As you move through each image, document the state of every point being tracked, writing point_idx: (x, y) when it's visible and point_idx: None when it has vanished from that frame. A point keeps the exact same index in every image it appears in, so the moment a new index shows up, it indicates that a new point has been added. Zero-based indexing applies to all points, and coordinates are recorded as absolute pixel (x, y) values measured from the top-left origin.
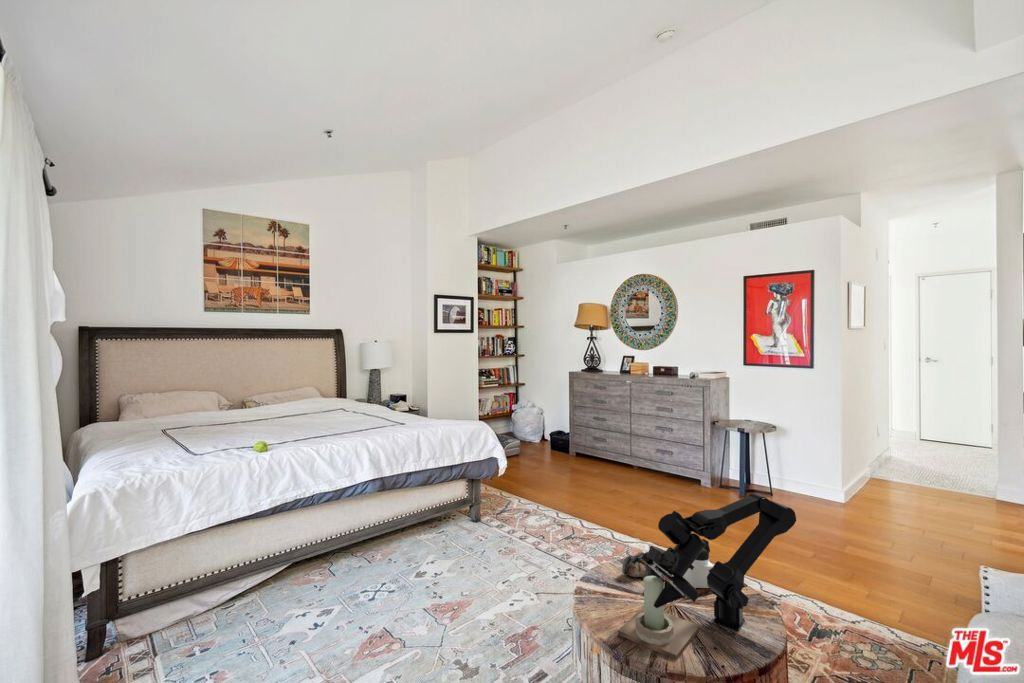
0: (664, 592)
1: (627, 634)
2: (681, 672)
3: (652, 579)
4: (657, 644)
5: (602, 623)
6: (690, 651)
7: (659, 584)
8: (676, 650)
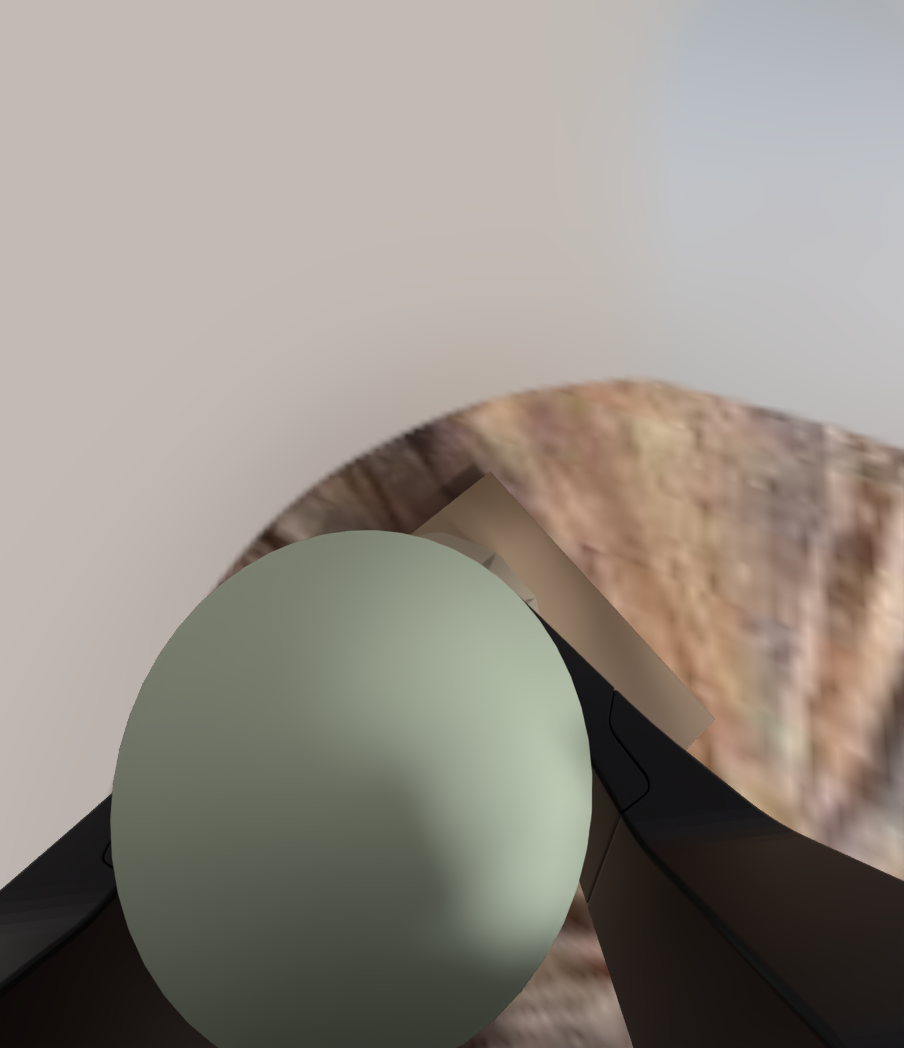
0: (105, 816)
1: (451, 502)
2: None
3: (393, 757)
4: None
5: (584, 444)
6: None
7: (123, 823)
8: None
